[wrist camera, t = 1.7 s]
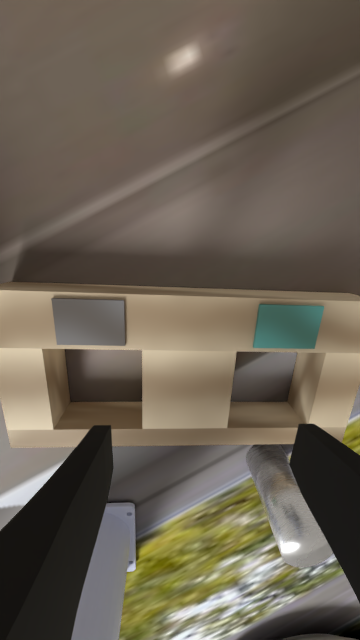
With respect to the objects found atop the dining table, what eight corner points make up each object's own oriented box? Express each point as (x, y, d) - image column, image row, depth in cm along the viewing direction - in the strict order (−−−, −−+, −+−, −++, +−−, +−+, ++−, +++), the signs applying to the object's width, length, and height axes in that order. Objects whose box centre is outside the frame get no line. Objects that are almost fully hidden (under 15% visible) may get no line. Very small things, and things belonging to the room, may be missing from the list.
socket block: (317, 416, 21) (343, 445, 18) (34, 417, 19) (9, 450, 16) (348, 293, 17) (387, 302, 14) (11, 281, 16) (-26, 289, 13)
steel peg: (280, 470, 22) (329, 565, 16) (243, 471, 22) (277, 568, 15) (287, 440, 21) (342, 529, 15) (248, 441, 21) (287, 531, 14)
